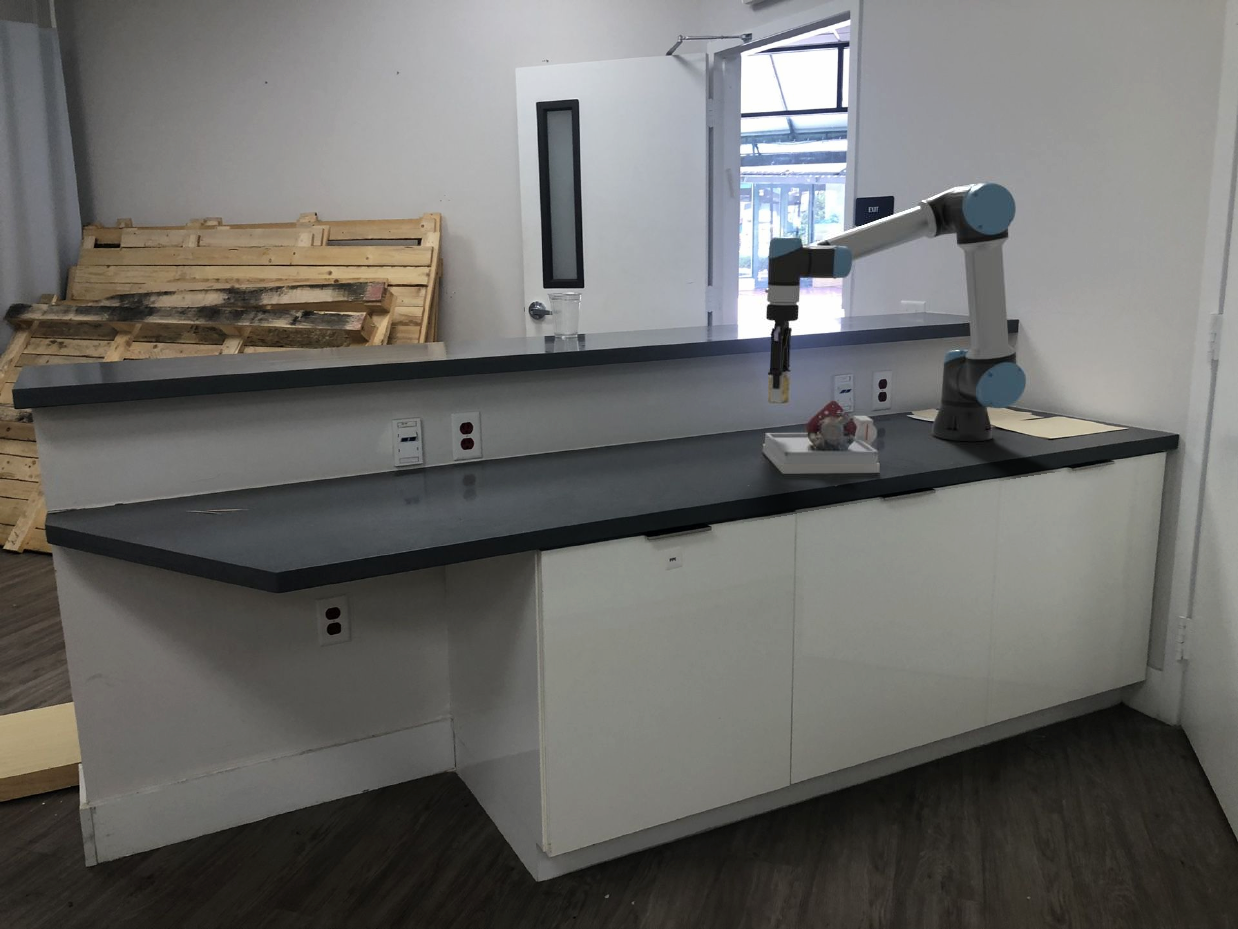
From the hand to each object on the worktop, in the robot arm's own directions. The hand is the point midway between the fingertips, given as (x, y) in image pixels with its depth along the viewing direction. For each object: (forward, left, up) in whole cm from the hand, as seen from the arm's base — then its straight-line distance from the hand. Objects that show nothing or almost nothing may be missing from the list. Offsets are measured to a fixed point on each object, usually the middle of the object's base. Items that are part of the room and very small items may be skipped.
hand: (778, 399), depth 235 cm
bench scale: (-10, +12, -13) cm, 20 cm away
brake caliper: (-9, +15, -9) cm, 20 cm away
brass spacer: (0, 0, 0) cm, 0 cm away
